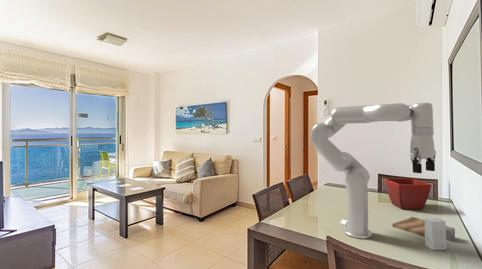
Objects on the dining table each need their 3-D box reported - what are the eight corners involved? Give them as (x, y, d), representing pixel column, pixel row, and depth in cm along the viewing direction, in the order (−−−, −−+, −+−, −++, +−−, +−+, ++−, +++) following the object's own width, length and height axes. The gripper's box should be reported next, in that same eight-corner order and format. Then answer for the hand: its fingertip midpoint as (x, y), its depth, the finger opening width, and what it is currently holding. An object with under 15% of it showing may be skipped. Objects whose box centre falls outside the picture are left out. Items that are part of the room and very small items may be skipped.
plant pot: (413, 202, 166) (413, 178, 166) (432, 211, 147) (432, 184, 147) (384, 202, 168) (384, 178, 168) (399, 211, 149) (399, 184, 149)
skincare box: (437, 245, 104) (437, 217, 104) (446, 250, 100) (446, 221, 100) (424, 245, 104) (424, 218, 104) (432, 250, 100) (432, 221, 100)
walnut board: (392, 226, 125) (392, 223, 125) (412, 219, 135) (412, 216, 135) (428, 238, 111) (428, 234, 111) (447, 229, 121) (447, 226, 121)
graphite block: (436, 237, 112) (436, 226, 112) (441, 235, 115) (441, 224, 115) (450, 241, 108) (449, 230, 108) (454, 239, 110) (454, 228, 110)
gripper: (424, 131, 110) (425, 169, 110) (400, 132, 103) (402, 172, 102) (443, 131, 103) (445, 170, 103) (420, 132, 96) (422, 175, 96)
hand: (423, 171), depth 103 cm, fingers open, 9 cm apart
